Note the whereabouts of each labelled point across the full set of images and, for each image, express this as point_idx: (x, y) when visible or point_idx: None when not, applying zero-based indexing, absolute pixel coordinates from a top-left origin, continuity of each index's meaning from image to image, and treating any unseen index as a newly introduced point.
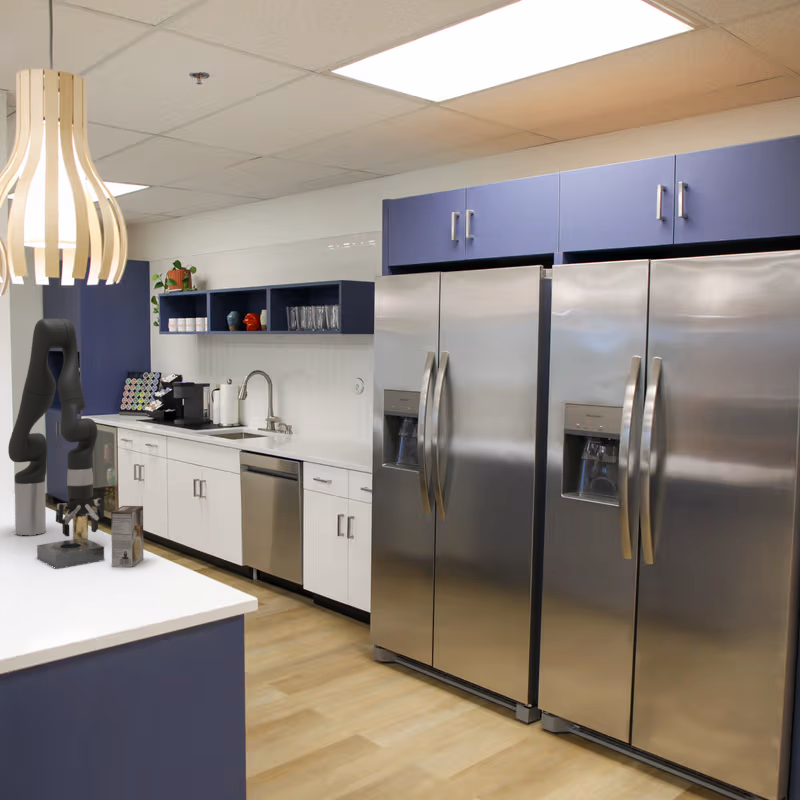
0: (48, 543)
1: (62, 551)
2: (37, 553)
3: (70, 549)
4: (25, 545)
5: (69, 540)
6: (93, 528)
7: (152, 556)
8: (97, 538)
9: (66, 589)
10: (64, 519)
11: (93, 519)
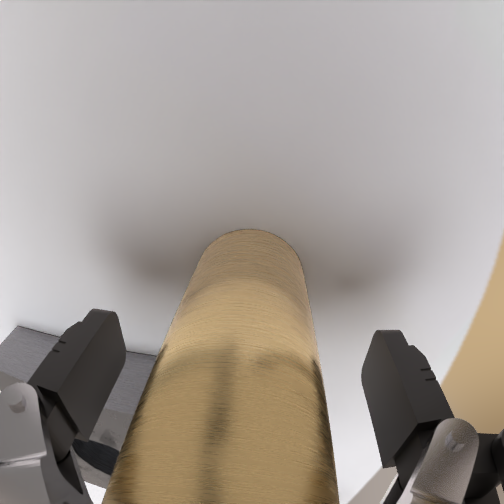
0: (19, 380)
1: (82, 473)
2: (6, 342)
3: (108, 479)
4: (13, 25)
5: (115, 416)
6: (372, 387)
7: (356, 490)
8: (465, 135)
9: (101, 496)
10: (15, 434)
11: (407, 457)
